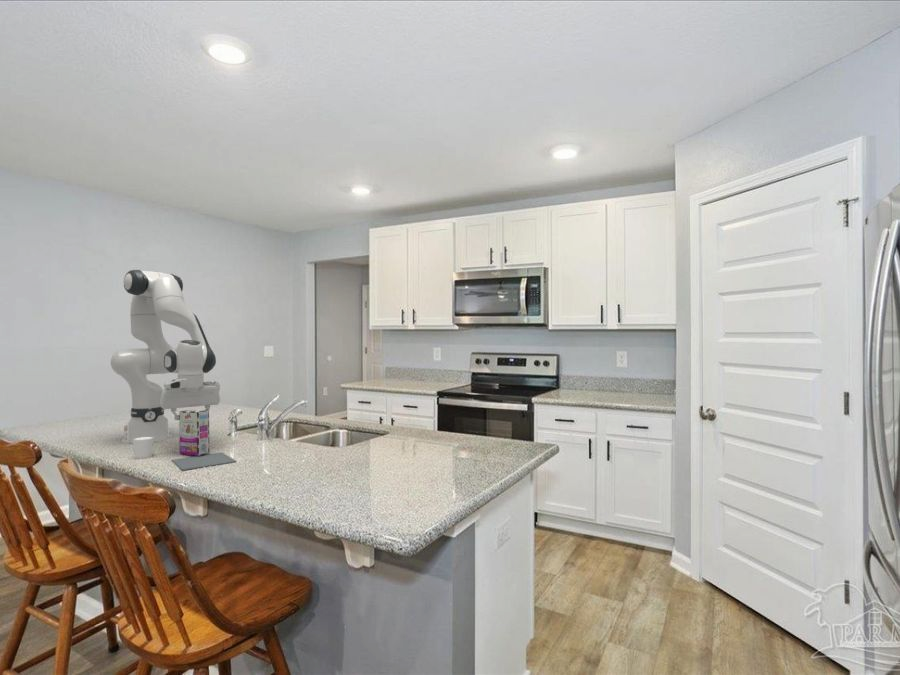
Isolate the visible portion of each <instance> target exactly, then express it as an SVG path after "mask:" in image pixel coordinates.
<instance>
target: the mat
mask: <svg viewBox="0 0 900 675" xmlns="http://www.w3.org/2000/svg"><path fill="white" fill-rule="evenodd" d="M171 462H172V463H173V464H174V465H176V467H177V468H178V469H180V471H182V472H184V471H185V472H186V471H192V470H196V469H197V468H199V469H204V468H203V467H205V468H209V466H211V467H216V465H217V466H222V465H228V464H235V463H237V460H235V459H234V458H232V457H230V456H229V455H227V454H226V453H224V452H216V453H209V454H207V455H202V456H188V457H181V458H175V459H171ZM197 470H198V469H197Z"/></svg>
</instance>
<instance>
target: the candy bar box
mask: <svg viewBox="0 0 900 675" xmlns="http://www.w3.org/2000/svg"><path fill="white" fill-rule="evenodd" d="M178 412H179V414H178V415H179V420H178V422H179V425H178V426H179V455H180V454H181V455H183V456H189V457H194V456H202V455H208V454H210V409H209V410H206V409H187V410H180V411H178Z"/></svg>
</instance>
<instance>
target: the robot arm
mask: <svg viewBox="0 0 900 675" xmlns="http://www.w3.org/2000/svg"><path fill="white" fill-rule="evenodd" d="M123 287H124V290H125V291H126V293H128V294H130V295H132V298H131V302H130V311H129V312H130V333H131V335H132V336H133V338H134V339H136V340H138V341H141V342H144V343H145V344H146V345H147V348H127V349H126V348H125V349H121V350H116V351H115V352H114V353H113V355H112V356H111V358H110V366H111V369H112V371H114V373H116V374H117V375H119V376H120V377H122V378H123V379H124V380H125V381H126V383H127V384H128V386H129V388H130V392H131V403H132V404H131V406H132V407H131V410H130V417H131V418H130V419H129V421H128V422H127V423H126V425H124V426H123V427H124V428H123V429H124V430H123V431H124V432H125V435H124V436H123V437H122V439H121V441H120V444H133V439H135V438H139V437H154V443H158V442H163V441H165V439H166V440H168V439H171V437H172V438H173V437H174V435H173V434H170V432H169V429H170V428H169V419H168V418H167V417H166V416H165V415H164V414H165V410H170V412H171V413H172V414H173V416H174V421H179V414H177V413H176V411H177V409H181V408H183V409H184V408H191V407H192V408H194V407H195V408H196V407H204V409H205V410H209V411H210V409H211V406H217V405H219V404H220V402H221V399H220V398H221V396H220V388H221V386H220V385H221V384H220V382H217V381H215V380H212V381H205V380H204V374H207V373H210V371H212V370H213V369H214V367H215V366H216V363H217V358H216V355H215V353H214V351H213V350H212V348H211V346H210V344H209V342H208V340H207V336H206V334H205V332H204V329H203V327H202V324H201V323H200V320H199V319H198V316H197V315H196V314H195V313H193V312H192V311H191V310H189V308H188V306H187V305H186V302H185V299H184V298H185V297H184V295H183V289H184V283H183V280H182V278H181V277H179V275H175V274H173V273H165V272H161V271H153V270H152V271H151V270H141V269H132V270H129V271H128V272H126V273H125V275H124V277H123ZM162 322H164V323H166V324H168V325H171V326H175V327H178V328H180V329H182V330H184V331H186V332H187V333H188V334H189V336H190V339H184V340H181V341H179V342H178V345H177V346H176V347H175V348H174V347H172V346H171V345H170V344H169V343H168V342H167V340H166V338H165V336H164V334H163V329H162ZM169 373H172V374H177V378H175V379H172V380H168V381H166V382H164V383H163V388H164V389H163V388H162V386H161V385H160V384H158V383H155V382H153V381H149V380H148V378H147V375H159V374H160V375H163V374H169ZM167 438H168V439H167Z"/></svg>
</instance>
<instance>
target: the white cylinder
mask: <svg viewBox="0 0 900 675" xmlns="http://www.w3.org/2000/svg"><path fill="white" fill-rule="evenodd" d="M154 444H155V442H154V437H139V438H135V439H133V443H132V447H133V457H134V458H133V459H146V458H151V457H153V454H154V447H155V446H154Z"/></svg>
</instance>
